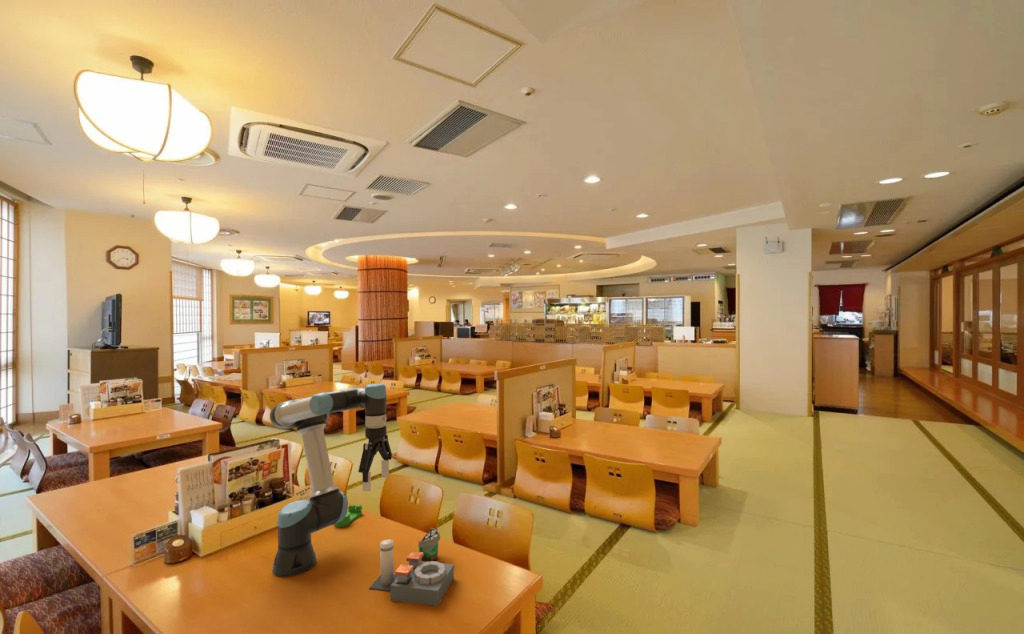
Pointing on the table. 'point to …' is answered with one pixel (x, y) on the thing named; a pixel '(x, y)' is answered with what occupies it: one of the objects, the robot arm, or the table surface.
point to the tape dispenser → (350, 515)
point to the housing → (425, 584)
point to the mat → (379, 586)
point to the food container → (430, 545)
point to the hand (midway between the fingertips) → (376, 483)
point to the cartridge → (387, 562)
